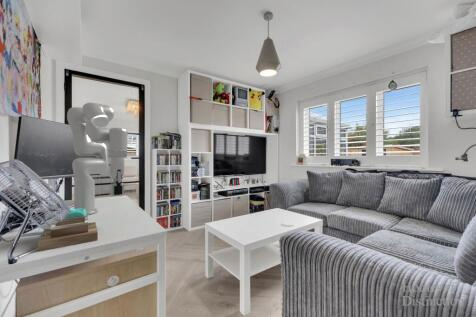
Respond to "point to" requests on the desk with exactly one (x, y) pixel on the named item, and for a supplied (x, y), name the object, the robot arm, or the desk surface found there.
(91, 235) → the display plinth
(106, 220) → the desk surface
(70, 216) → the decorative dice
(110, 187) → the sage block
